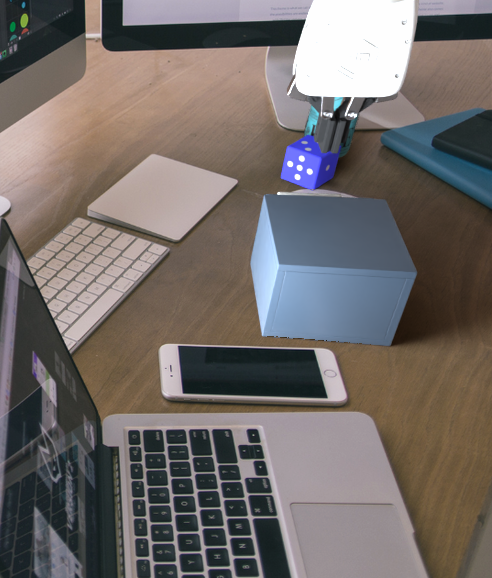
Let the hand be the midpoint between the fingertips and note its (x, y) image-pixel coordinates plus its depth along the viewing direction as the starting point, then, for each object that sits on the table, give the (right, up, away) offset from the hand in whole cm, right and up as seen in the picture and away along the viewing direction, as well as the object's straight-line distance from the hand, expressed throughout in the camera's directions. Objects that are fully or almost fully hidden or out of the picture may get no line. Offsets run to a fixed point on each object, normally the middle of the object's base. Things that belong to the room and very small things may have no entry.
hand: (327, 147), depth 86 cm
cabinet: (-1, -17, +1) cm, 17 cm away
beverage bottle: (+12, +3, +26) cm, 28 cm away
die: (+8, -1, +22) cm, 23 cm away
